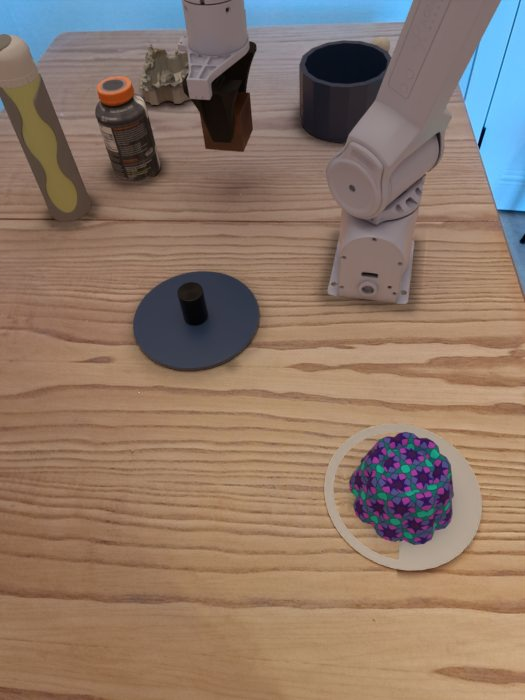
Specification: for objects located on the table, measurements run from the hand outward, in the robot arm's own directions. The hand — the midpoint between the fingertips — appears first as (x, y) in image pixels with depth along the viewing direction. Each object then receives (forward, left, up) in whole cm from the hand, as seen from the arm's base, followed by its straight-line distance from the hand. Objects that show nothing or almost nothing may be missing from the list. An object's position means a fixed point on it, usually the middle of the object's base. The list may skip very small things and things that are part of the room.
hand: (228, 127), depth 63 cm
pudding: (-35, -23, -8) cm, 43 cm away
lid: (-21, -2, -7) cm, 23 cm away
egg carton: (+22, +15, -8) cm, 28 cm away
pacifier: (+28, -14, -8) cm, 32 cm away
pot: (+17, -11, -8) cm, 21 cm away
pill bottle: (+2, +13, -8) cm, 16 cm away
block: (0, 0, -1) cm, 1 cm away
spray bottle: (-7, +18, -8) cm, 21 cm away
